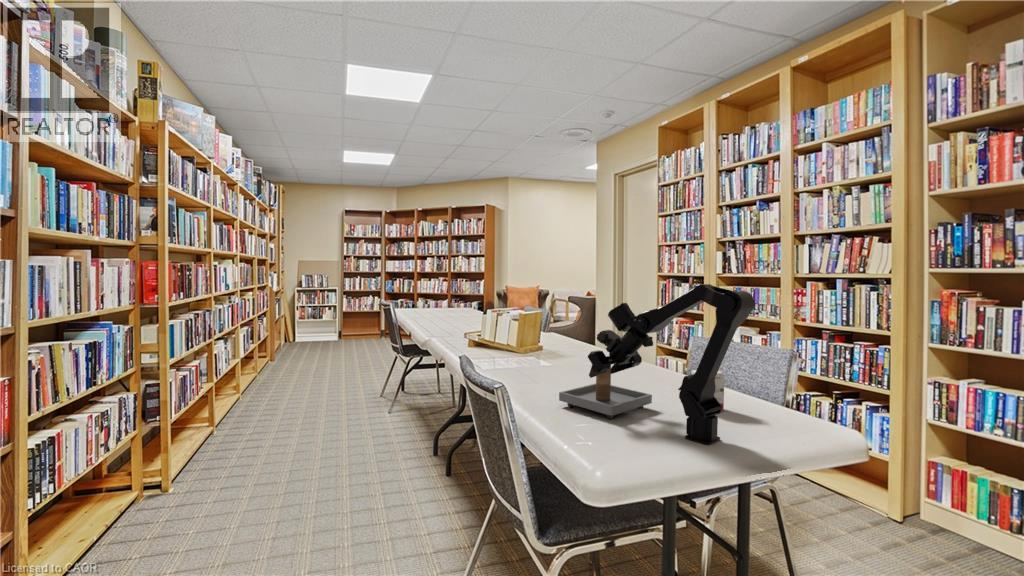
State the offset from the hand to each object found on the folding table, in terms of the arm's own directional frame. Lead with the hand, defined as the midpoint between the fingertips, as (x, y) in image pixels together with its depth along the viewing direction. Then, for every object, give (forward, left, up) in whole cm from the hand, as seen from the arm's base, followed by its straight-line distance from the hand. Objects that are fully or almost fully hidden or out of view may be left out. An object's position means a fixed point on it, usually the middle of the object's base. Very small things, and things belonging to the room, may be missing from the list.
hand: (600, 374), depth 149 cm
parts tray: (-1, -1, -10) cm, 10 cm away
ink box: (-22, -24, -10) cm, 34 cm away
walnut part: (-1, 0, -8) cm, 8 cm away
